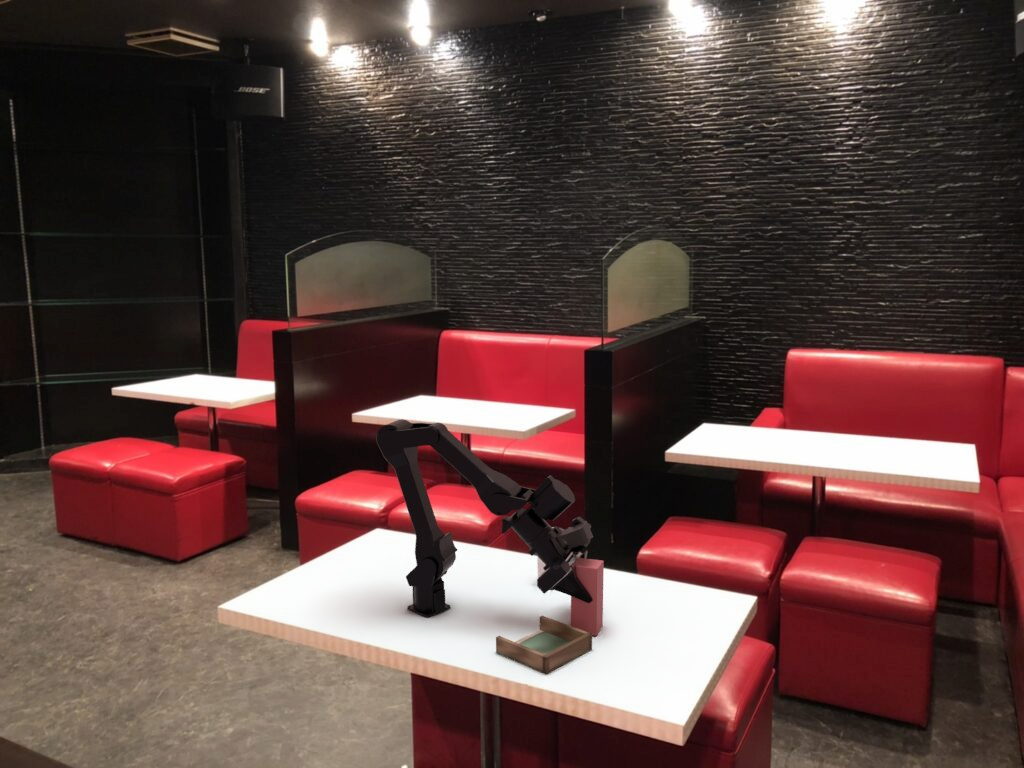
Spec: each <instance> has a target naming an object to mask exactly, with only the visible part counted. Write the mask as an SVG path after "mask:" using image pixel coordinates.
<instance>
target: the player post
mask: <svg viewBox="0 0 1024 768" xmlns="http://www.w3.org/2000/svg"><path fill="white" fill-rule="evenodd" d="M604 563H605V562H604V560H600V559H591V558H587V559H584V558H578V559H577V560H576V561H575V562H574V563H573V565H572V566H571V568H573V567H574V566H575V565H576V572H577V577H578V579H579V580H580V581H581V583H582V584H583V586H584V587H585V588H586V590H587V591H588V592H589V594H590V595H591V597H592V599H593V600H592V601H591V602H590V603H587V602H584V601H582V600H579V599H577V598H575V597H572V596H570V626H572V627H575V628H578V629H580V630H583V631H586V632H588V633H591V634H592V636H594V637H597V636H598V634H599V632H600V630H601V629H602V627H603V624H604V623H603V621H604V619H603V618H604V567H605V565H604Z"/></svg>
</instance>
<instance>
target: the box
mask: <svg viewBox="0 0 1024 768" xmlns="http://www.w3.org/2000/svg"><path fill="white" fill-rule="evenodd" d="M592 650H593V635H592V634H591V633H588V632H586V631H583V630H580V629H578V628H575V627H572V626H571V625H569V624H566V623H564V622H561V621H559V620H555V619H553V618H550V617H548V616H544V615H541V616H539V630H536V631H534V632H532V633H530V634H528V635H526V636H523V637H522V638H520V639H518V640H515V641H513V640H512V639H511V640H510V639H508V638H506V637H503V636H501V635H498V636H495V654H497V655H500V656H502V655H503V656H502V657H505V658H507V657H508V659H509V658H510V659H509V660H512V661H514V660H515V661H514V662H516V661H517V663H519V664H522V665H523V664H524V666H525V667H529V668H531V669H533V670H536V671H538V672H540V673H542V674H545V675H547V674H549V673H552V672H554V671H555V670H557V669H559V668H560V667H562V666H564V665H566V664H568V663H570V662H572V661H573V660H575V659H577V658H580V657H581V656H582V655H585V654H586V653H588V652H590V651H592Z"/></svg>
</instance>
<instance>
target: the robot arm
mask: <svg viewBox="0 0 1024 768" xmlns="http://www.w3.org/2000/svg"><path fill="white" fill-rule="evenodd" d="M375 438H376V440H375V442H376V443H377V444H376V445H377V446H378V448H379V450H380V452H381V454H382V456H383V458H384V459H385V460H386V461H387V462H388V463H389V465H391V468H393V470H394V471H395V474H396V478H397V482H398V485H399V487H400V490H401V493H402V496H403V500H404V503H405V505H406V509H407V512H408V515H409V519H410V521H411V524H412V525H411V526H412V527H413V530H414V534H415V548H414V556H415V561H416V566H415V567H414V568H413V569H412V570H411V571H409V573H407V575H405V579H406V582H407V585H408V586H409V587H412V604H410V605H407V606H406V609H407V610H408V611H411V612H413V613H416V614H418V615H421V616H423V617H425V618H429V617H432V616H434V615H437V614H440V613H441V612H444V611H446V610H449V609H451V604H448V603H447V602H446V589H445V581H444V580H443V578H442V577H444V576H445V575H446V574H447V573H448V570H449V569H450V568H451V567H452V566H453V565H454V563H455V561H456V558H457V556H456V552H457V551H458V548H457V547H456V545H455V543H454V541H453V540H454V539H453V534H452V533H451V532H448V533H444V532H443V531H442V530H441V528H440V527H439V525H438V522H437V519H436V516H435V512H434V510H433V506H432V504H431V501H430V498H429V495H428V491H427V488H426V486H425V485H426V484H425V481H424V479H423V475H422V471H421V470H420V467H419V463H418V453H419V450H418V449H419V447H423V446H424V447H427V446H430V447H431V448H432V449H433V450H434V451H435V452H436V453H437V454H439V455H440V456H441V457H442V458H443V459H444V460H445V461H446V462H447V463H448V464H449V465H451V467H453V469H455V470H456V471H457V472H458V473H459V474H460V475H462V477H463V478H464V479H466V481H468V483H470V484H471V485H472V486H473V488H474V489H475V491H476V494H477V496H478V497H479V500H480V501H481V502H482V503H483V505H484V506H485V508H487V510H488V511H489V512H490V513H491V514H493V515H494V516H498V517H499V516H501V517H503V516H504V517H503V518H502V519H501V534H503V535H504V534H506V533H507V532H508V531H509V530H510V529H512V530H513V531H514V532H515V534H517V535H518V536H519V538H520V539H521V540H522V541H523V542H524V543H525V545H527V546H528V548H529V551H528V553H529V555H530V556H531V557H533V555H534V554H535V555H536V557H537V556H538V557H539V558H540V559H541V561H542V562H543V563H544V564H545V566H544V567H543V569H544V570H545V571H544V572H543V573H542V574H541V575H540V577H539V578H538V577H537V579H536V587H537V588H538V589H539V590H540V591H541V593H543V594H544V595H545V594H546V593H547V592H548V591H549V590H551V591H557V592H560V593H562V594H565V595H568V596H570V597H571V596H572V597H575V598H577V599H579V600H582V601H584V602H587V603H590V602H591V601H592V600H593V599H592V597H591V595H590V594H589V592H588V591H587V590H586V588H585V587H584V586H583V584H582V583H581V581H580V580H579V579H578V577H577V572H576V565H575V566H574V567H573V568H571V566H572V565H573V563H574V562H575V561H576V560H577V559H578V558H584V559H588V558H587V557H588V549H586V548H587V547H588V545H589V544H590V542H591V540H592V539H593V538H594V535H593V533H592V530H591V528H592V524H591V523H588V521H587V520H585V519H583V517H581V516H578V517H576V518H573V519H572V521H571V526H569V527H567V528H565V529H564V530H563V531H562V530H561V529H562V528H561V527H559V526H556V525H555V526H551V525H550V524H549V523H548V522H547V520H549V521H555V520H556V519H558V517H559V516H560V515H562V513H564V512H565V511H566V510H567V509H568V508H570V506H571V505H573V504H574V503H575V502H576V498H575V495H574V492H573V491H572V490H571V488H570V487H569V486H568V485H567V484H565V483H563V481H561V480H559V479H556V478H554V476H552V475H549V476H547V477H546V478H545V479H544V480H543V481H542V482H541V484H540V485H539V486H538V487H537V488H536V489H535V488H531V487H525V486H523V485H522V486H521V485H520V484H519V483H517V482H516V481H515V480H513V479H512V478H510V477H509V476H508V475H505V474H504V473H501V472H498V471H496V470H494V469H492V468H491V467H490V466H488V465H487V464H486V463H484V462H483V461H482V460H481V459H480V457H478V456H477V455H476V454H475V453H474V452H472V450H470V449H469V448H468V447H467V446H466V445H465V444H464V443H463V442H462V441H461V440H459V439H458V438H457V436H455V435H454V434H453V433H452V432H451V431H449V430H448V427H447V426H446V425H445V424H444V423H442V422H434V423H427V422H411V421H409V420H406V419H402V418H401V419H397V420H395V421H392V422H389V423H387V424H385V425H383V426H381V427H380V428H379V429H378V431H377V434H375ZM528 503H529V504H530V505H529V507H527V508H526V509H525V508H524V507H525V506H526V505H527V504H528ZM512 511H515V512H514V513H513V514H511V515H510V516H506V515H509V514H510V513H511V512H512ZM552 527H554V528H552ZM560 528H561V529H560ZM584 549H586V550H584ZM582 550H584V551H583V552H581V551H582ZM550 588H551V589H550Z"/></svg>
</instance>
